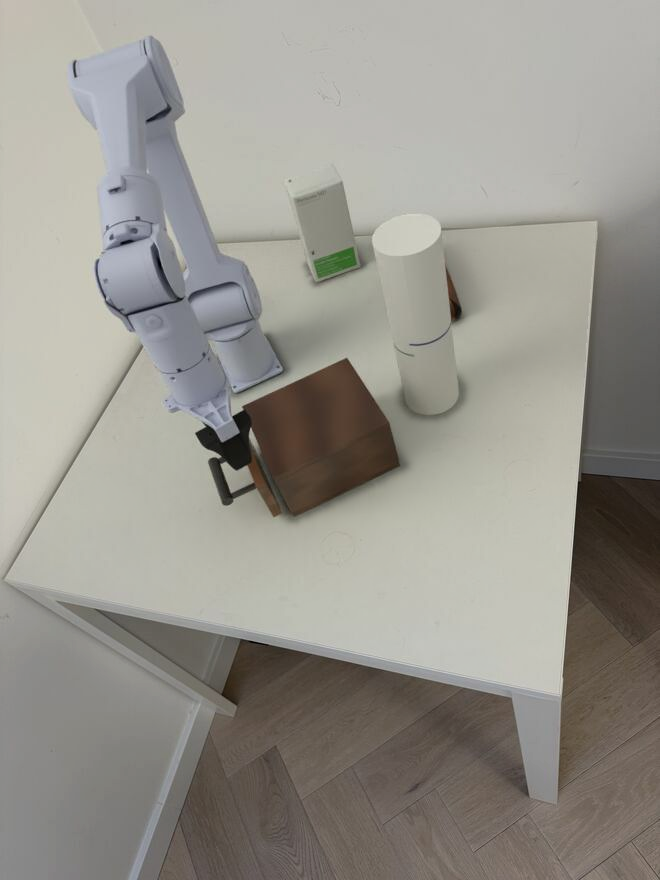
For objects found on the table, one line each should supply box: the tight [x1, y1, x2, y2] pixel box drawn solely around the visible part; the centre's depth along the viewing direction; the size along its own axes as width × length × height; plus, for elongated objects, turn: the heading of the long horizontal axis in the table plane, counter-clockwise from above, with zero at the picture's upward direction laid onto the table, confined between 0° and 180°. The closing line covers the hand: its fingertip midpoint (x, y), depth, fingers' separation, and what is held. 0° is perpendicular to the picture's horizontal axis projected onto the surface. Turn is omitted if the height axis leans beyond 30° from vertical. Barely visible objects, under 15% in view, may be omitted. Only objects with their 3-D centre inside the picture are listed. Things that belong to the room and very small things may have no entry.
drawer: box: [207, 437, 283, 518], centre depth 78 cm, size 18×11×7 cm, turn 112°
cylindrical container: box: [371, 213, 460, 416], centre depth 75 cm, size 7×7×25 cm
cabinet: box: [241, 357, 401, 518], centre depth 79 cm, size 15×13×9 cm
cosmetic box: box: [283, 163, 361, 283], centre depth 101 cm, size 8×7×16 cm
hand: (230, 444), depth 72 cm, fingers open, 7 cm apart
